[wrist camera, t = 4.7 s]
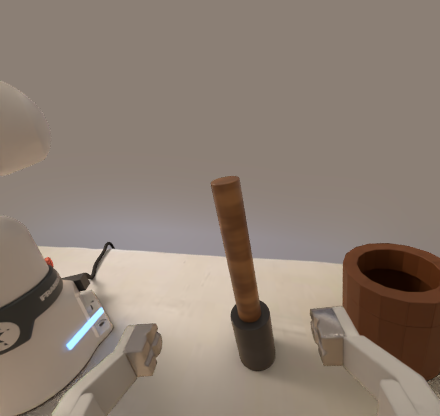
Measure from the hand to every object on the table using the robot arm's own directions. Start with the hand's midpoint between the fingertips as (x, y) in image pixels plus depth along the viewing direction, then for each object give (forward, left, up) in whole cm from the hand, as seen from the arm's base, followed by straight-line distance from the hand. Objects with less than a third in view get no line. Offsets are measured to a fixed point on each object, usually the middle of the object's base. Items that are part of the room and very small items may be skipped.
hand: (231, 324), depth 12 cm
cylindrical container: (-1, +21, -19) cm, 28 cm away
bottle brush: (-10, +7, -19) cm, 23 cm away
